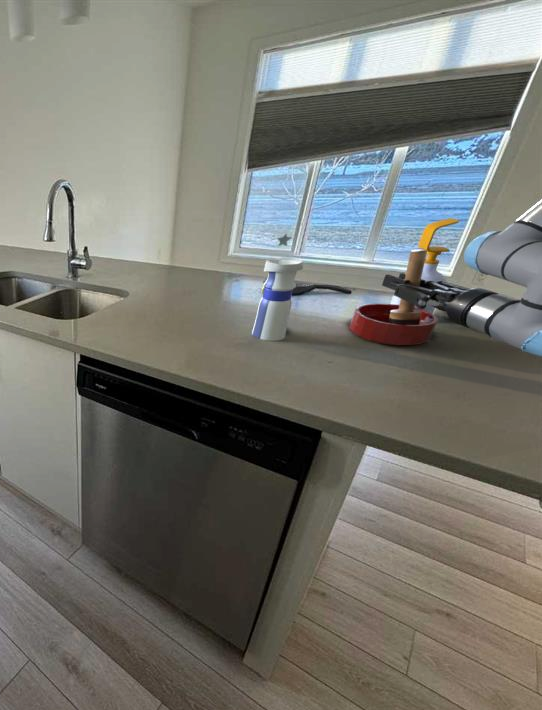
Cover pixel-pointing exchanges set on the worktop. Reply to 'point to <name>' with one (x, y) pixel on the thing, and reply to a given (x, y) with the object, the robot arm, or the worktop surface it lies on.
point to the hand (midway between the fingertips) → (392, 279)
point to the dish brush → (414, 274)
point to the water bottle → (276, 297)
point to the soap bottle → (430, 256)
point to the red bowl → (390, 325)
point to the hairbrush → (303, 289)
